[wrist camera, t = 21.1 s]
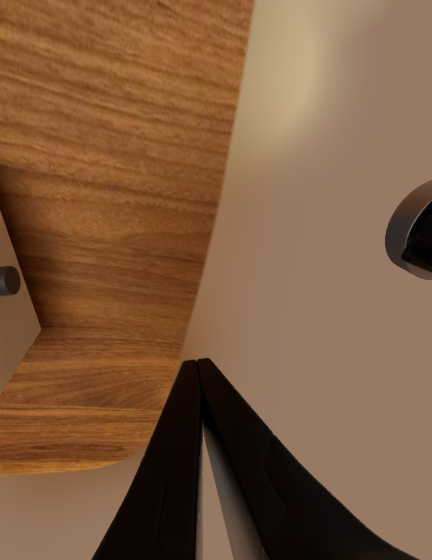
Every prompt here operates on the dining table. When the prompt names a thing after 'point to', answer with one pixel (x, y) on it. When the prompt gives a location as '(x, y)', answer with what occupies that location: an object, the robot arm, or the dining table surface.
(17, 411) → the dining table surface
